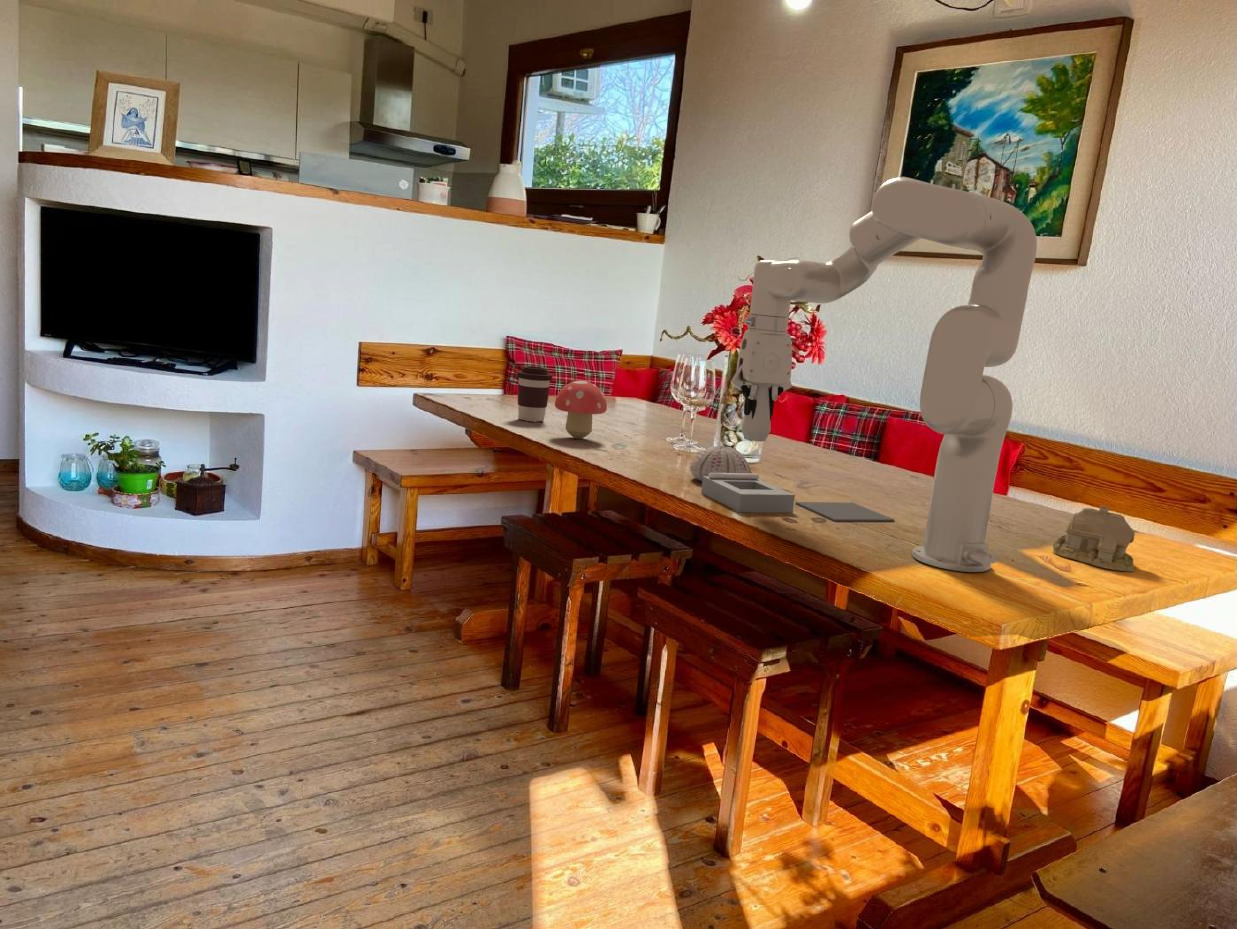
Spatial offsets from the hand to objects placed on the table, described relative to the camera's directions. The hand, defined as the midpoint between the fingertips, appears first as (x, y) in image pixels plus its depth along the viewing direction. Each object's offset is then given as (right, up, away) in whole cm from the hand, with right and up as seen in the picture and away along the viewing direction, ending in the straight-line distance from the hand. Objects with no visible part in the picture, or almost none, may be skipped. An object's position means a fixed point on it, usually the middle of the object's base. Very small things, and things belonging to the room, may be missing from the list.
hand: (757, 418), depth 197 cm
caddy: (-2, -17, +3) cm, 17 cm away
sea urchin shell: (-5, -13, +22) cm, 26 cm away
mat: (+18, -19, +3) cm, 26 cm away
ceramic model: (+58, -27, -16) cm, 66 cm away
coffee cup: (-52, +3, +85) cm, 100 cm away
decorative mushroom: (-38, -3, +62) cm, 72 cm away
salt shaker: (0, -4, +1) cm, 4 cm away
